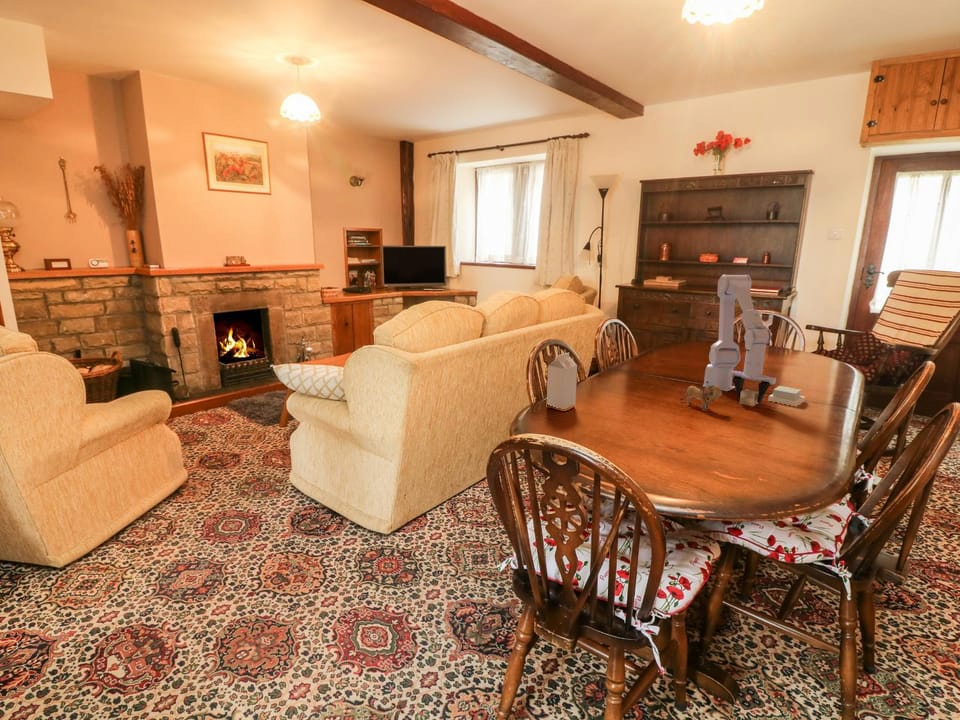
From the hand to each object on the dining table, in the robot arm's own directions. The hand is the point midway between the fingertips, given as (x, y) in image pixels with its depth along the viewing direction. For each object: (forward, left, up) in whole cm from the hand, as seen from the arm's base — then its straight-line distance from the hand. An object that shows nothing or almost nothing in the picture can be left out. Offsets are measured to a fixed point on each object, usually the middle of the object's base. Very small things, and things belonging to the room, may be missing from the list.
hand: (749, 399), depth 175 cm
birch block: (0, 0, -2) cm, 2 cm away
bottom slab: (+8, +13, -2) cm, 15 cm away
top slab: (+8, +13, 0) cm, 15 cm away
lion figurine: (-10, -17, -2) cm, 20 cm away
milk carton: (-41, -54, -2) cm, 68 cm away
